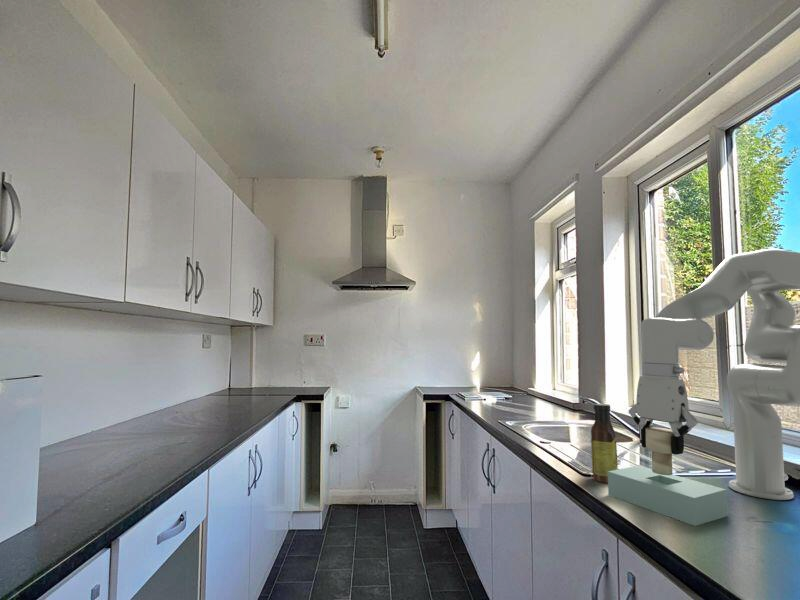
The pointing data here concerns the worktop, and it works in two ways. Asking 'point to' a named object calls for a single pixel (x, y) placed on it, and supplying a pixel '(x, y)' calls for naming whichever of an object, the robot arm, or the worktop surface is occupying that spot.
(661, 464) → the pin
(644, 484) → the block
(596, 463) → the sauce bottle
